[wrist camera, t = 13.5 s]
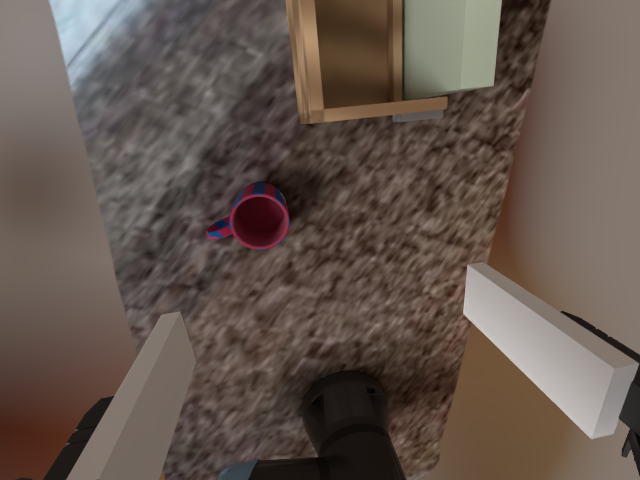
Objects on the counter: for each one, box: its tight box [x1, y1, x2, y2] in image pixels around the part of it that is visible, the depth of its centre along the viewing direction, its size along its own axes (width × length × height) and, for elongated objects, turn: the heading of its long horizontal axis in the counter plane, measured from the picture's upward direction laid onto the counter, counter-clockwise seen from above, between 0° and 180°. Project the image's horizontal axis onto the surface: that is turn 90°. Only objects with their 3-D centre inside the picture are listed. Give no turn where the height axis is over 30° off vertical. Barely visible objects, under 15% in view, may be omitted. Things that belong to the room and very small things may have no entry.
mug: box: [206, 183, 290, 250], centre depth 37 cm, size 7×10×7 cm
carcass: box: [286, 0, 448, 124], centre depth 29 cm, size 20×17×13 cm
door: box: [402, 0, 502, 101], centre depth 30 cm, size 15×4×14 cm, turn 6°
